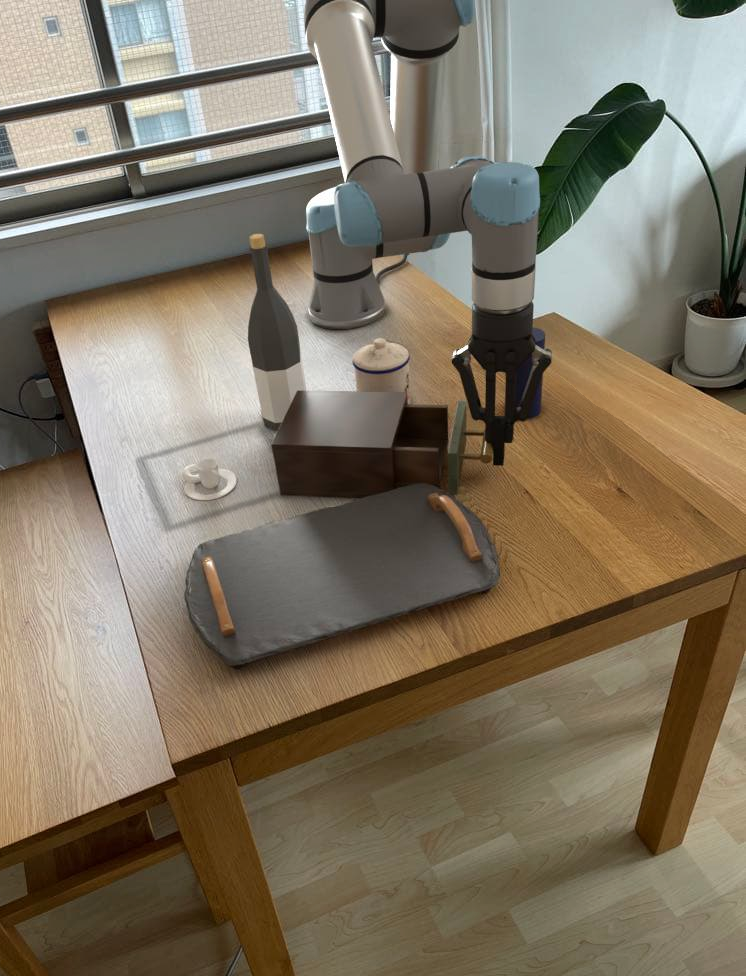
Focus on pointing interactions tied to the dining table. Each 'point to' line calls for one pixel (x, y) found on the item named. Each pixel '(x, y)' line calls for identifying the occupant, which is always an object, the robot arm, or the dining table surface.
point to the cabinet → (338, 443)
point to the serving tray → (336, 571)
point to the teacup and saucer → (207, 479)
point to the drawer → (433, 446)
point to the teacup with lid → (382, 368)
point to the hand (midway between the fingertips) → (498, 460)
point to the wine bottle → (273, 342)
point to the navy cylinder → (524, 374)
